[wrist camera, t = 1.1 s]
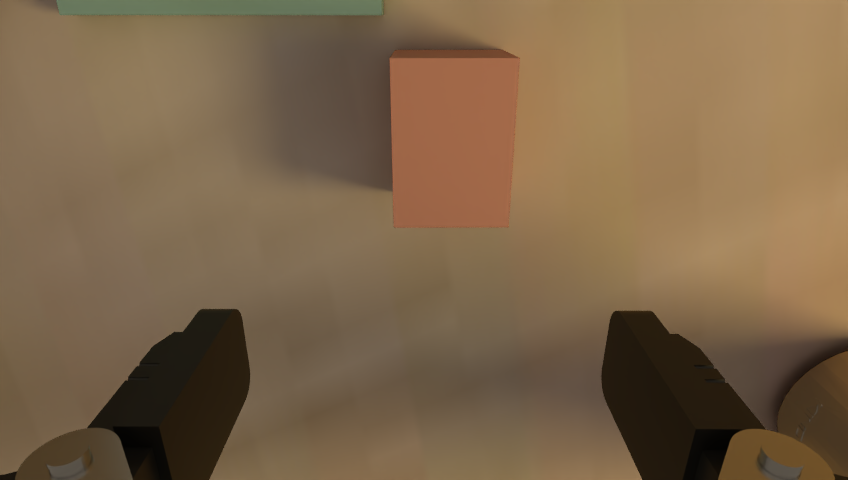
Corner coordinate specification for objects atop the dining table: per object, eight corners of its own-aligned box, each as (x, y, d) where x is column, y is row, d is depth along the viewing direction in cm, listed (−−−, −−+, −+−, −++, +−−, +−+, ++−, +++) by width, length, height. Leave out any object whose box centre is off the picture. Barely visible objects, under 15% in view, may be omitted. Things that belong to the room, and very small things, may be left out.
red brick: (501, 49, 25) (519, 58, 20) (494, 191, 28) (508, 227, 23) (395, 49, 25) (389, 58, 20) (398, 191, 28) (393, 227, 23)
